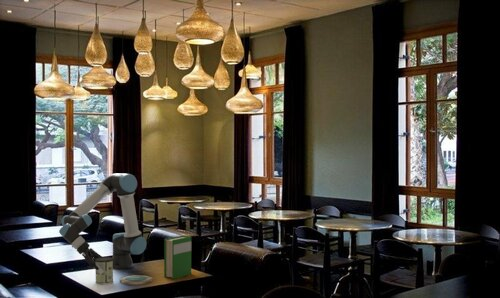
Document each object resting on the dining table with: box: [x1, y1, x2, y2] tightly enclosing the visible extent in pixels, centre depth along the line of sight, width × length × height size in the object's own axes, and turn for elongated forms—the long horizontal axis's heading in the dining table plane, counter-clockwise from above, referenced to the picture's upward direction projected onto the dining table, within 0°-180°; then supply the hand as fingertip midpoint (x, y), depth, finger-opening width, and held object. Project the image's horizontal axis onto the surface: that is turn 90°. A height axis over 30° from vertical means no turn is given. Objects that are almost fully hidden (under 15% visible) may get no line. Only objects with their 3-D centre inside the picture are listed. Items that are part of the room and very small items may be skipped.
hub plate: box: [119, 274, 153, 286], centre depth 337 cm, size 19×19×2 cm
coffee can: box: [94, 256, 114, 285], centre depth 334 cm, size 10×10×14 cm
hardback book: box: [163, 235, 192, 280], centre depth 352 cm, size 18×7×24 cm, turn 148°
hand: (105, 270), depth 334 cm, fingers open, 13 cm apart
